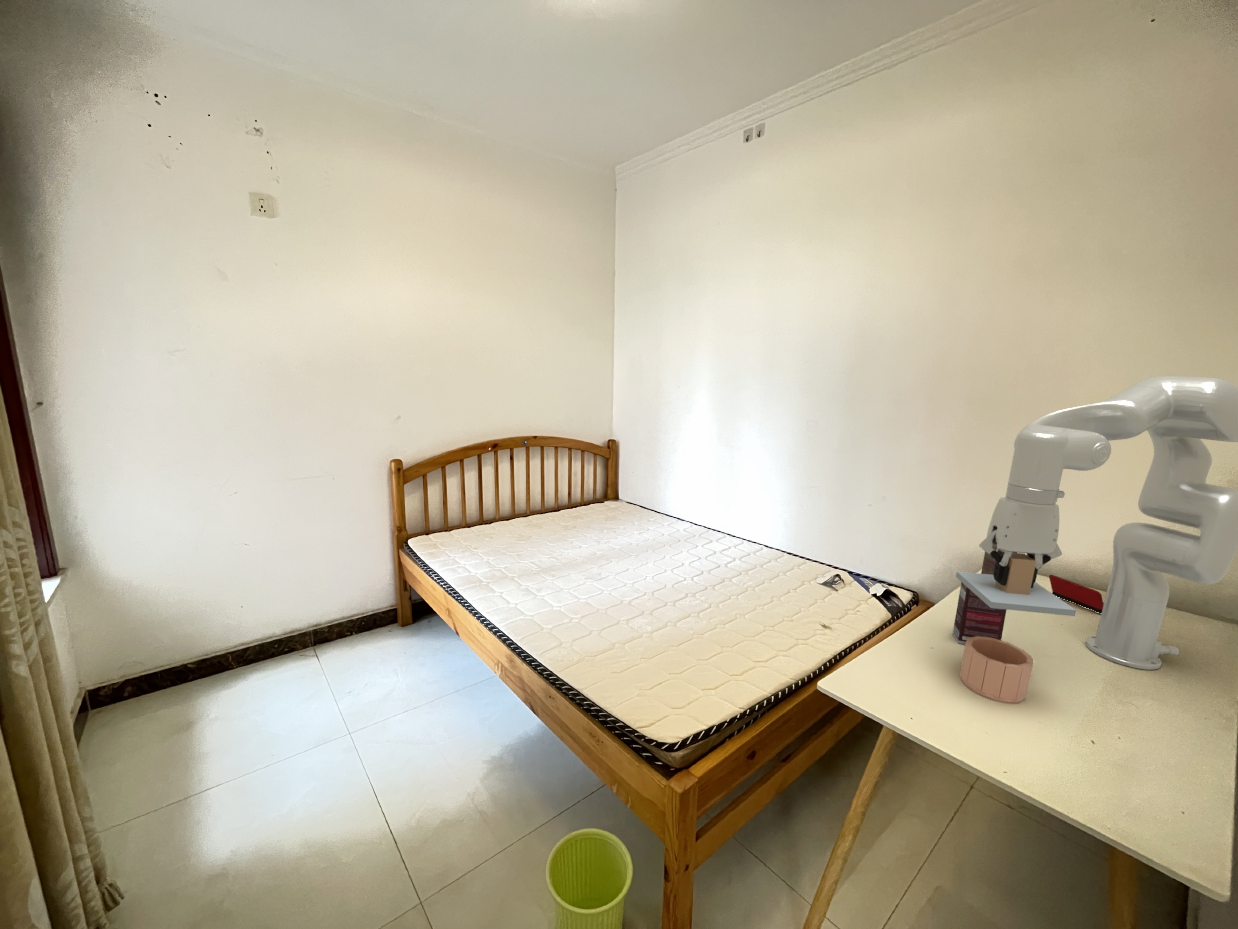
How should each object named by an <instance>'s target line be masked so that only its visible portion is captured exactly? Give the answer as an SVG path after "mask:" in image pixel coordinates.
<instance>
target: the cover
mask: <svg viewBox="0 0 1238 929" xmlns="http://www.w3.org/2000/svg"><path fill="white" fill-rule="evenodd" d="M1007 566H1008V567H1009V573H1008V578H1007V583H1006V585H1005V586H1004V585H1001V584H999V583H998V582H997V581H996V580H994V576H993V575H990V574H981V573H978V572H976V573H975V572H967V571H965V572H964V571H956V573H955V577H956V579H958V581H960V582H962V583H963V584H964V585H966V586H967V587H968V588H969V589H970V590H971V591H972V592H973V593H975V594H976V595H977V596H978V597H979V598H980V599H981V600H982V601H983V602H985V603H986V604H987V605H988V606H989V607H990V608H997V609H1007V610H1008V611H1009V610H1010V611H1017V612H1018V611H1021V612H1029V613H1030V612H1031V613H1039V614H1047V615H1048V614H1050V615H1057V616H1058V615H1059V616H1068V617H1069V616H1070V617H1076V613H1077V610H1076V609H1075V608H1074V607H1072V606H1071V605H1070V604H1068V603H1067V602H1066V601H1065V600H1063V599H1060V598H1058V597H1056V596H1055V595H1054V594H1052V592H1051V591H1049V590H1048V589H1046V588H1045V587H1044V586H1042V585H1041V584H1039V583H1038V582H1036V581H1035V582H1034V585H1033V588H1031V584H1032V580H1033V575H1034V570H1035V566H1036V561H1035V560H1033V559H1032V558H1030V557H1029V556H1027V554H1026V553H1012V554H1011V557H1010V559H1009V561H1008V564H1007ZM1007 610H1006V611H1007Z"/></svg>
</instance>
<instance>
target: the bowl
mask: <svg viewBox="0 0 1238 929" xmlns="http://www.w3.org/2000/svg"><path fill="white" fill-rule="evenodd" d="M964 646H965V647H964V650H963V656H962V661H961V667H960V672H959V678H960V680H961V682H962V684H963V685H964V686H966V687H967V688H968V689H969V690H971V691H972V692H975V694H977V695H979V696H982V697H983V698H985V699H989V700H991V701H995V702H998V703H1002V704H1010V705H1011V704H1020V703H1023V702H1024V701H1025V700H1026V698H1027V694H1028V689H1029V686H1030V680H1031V676H1032V672H1033V671H1032V670H1033V666H1034V658H1033V657H1032V656H1031V655H1030V654H1029V653H1028V652H1027V651H1025V650H1024V649H1022V648H1020V647H1019V646H1017V645H1014V644H1012V643H1009V642H1007V641H1003V640H1002V639H1001V640H998V639H994V638H989V637H980V636H976V637H971V638H968V639H967V641H966V645H965V644H964Z"/></svg>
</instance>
